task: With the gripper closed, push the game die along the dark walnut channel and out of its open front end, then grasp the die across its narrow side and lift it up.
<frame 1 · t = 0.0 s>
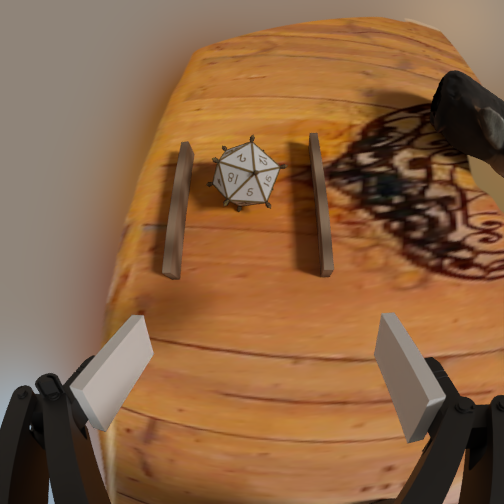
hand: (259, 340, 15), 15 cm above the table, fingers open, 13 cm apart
black rounded lump: (468, 146, 35), on the table
walnut channel: (249, 206, 34), on the table
game die: (249, 193, 35), on the table
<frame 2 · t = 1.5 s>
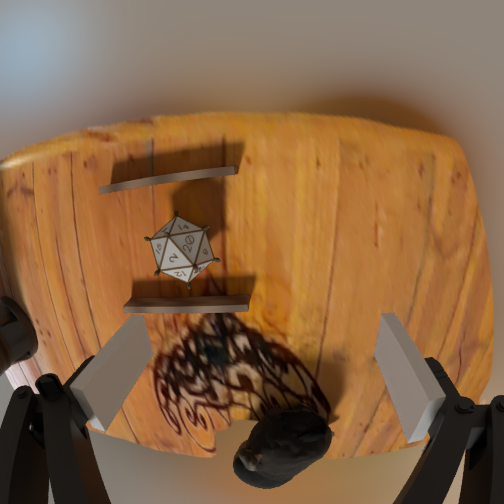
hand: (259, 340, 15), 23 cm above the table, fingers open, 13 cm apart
black rounded lump: (278, 425, 47), on the table
walnut channel: (176, 242, 37), on the table
game die: (191, 240, 37), on the table
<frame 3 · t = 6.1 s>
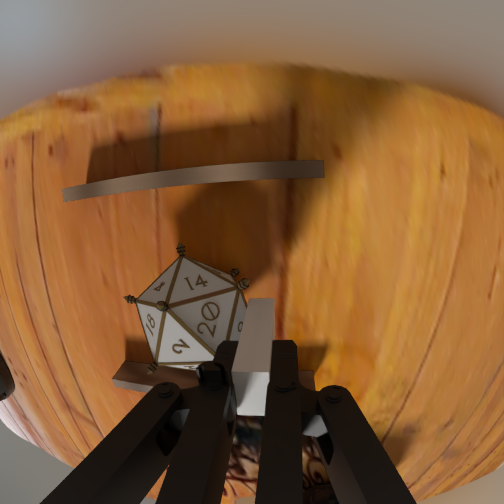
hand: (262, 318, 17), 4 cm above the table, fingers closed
black rounded lump: (316, 493, 31), on the table
walnut channel: (197, 289, 21), on the table
game die: (210, 290, 22), on the table, touching gripper
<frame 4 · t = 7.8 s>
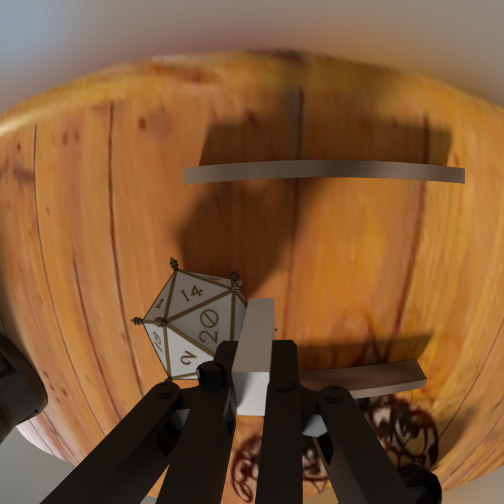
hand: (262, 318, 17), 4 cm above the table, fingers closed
black rounded lump: (376, 484, 30), on the table
walnut channel: (330, 286, 20), on the table
game die: (216, 297, 22), on the table, touching gripper
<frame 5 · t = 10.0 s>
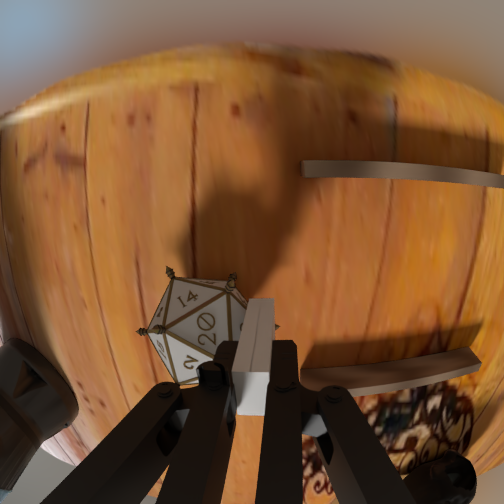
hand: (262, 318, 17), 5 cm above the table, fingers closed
black rounded lump: (413, 474, 30), on the table
walnut channel: (412, 280, 20), on the table
game die: (219, 301, 22), on the table, touching gripper
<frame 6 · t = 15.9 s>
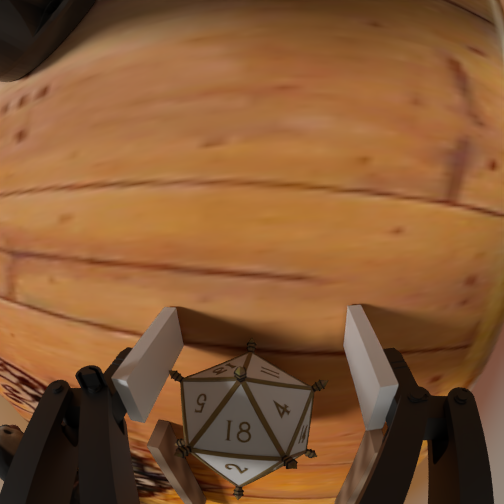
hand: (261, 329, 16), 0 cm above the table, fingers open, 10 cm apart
black rounded lump: (52, 454, 29), on the table
walnut channel: (268, 477, 21), on the table
game die: (252, 373, 17), on the table, touching gripper
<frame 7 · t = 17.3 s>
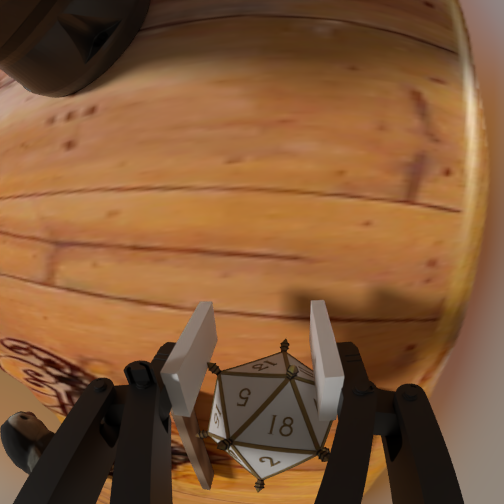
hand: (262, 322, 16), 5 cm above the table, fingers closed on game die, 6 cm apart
black rounded lump: (66, 439, 34), on the table
walnut channel: (272, 444, 26), on the table
game die: (276, 371, 18), point 5 cm above the table, touching gripper
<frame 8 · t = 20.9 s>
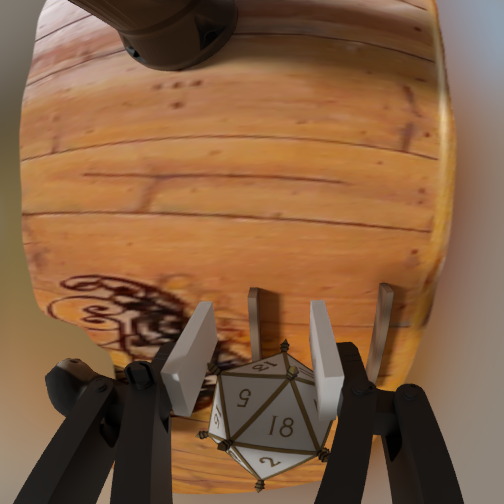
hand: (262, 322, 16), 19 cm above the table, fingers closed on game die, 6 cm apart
black rounded lump: (112, 384, 46), on the table
walnut channel: (317, 343, 38), on the table
game die: (276, 372, 18), point 18 cm above the table, touching gripper
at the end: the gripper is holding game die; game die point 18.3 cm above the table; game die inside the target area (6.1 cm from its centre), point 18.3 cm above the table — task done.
